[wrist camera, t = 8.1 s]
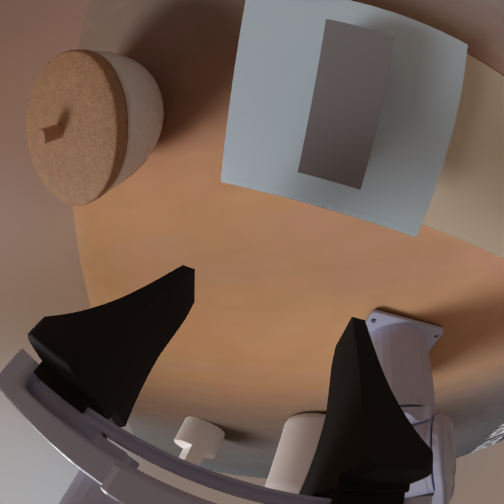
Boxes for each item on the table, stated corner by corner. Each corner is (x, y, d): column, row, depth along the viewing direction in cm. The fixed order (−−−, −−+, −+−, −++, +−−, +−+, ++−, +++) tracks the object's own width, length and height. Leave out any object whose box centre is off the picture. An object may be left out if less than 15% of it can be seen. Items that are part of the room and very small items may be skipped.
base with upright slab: (191, 412, 46) (165, 461, 37) (231, 432, 46) (210, 481, 37) (181, 421, 52) (159, 463, 42) (217, 439, 52) (197, 481, 42)
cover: (413, 232, 13) (430, 274, 10) (224, 178, 15) (189, 205, 12) (463, 46, 7) (500, 34, 4) (251, -8, 9) (219, -37, 6)
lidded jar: (193, 44, 15) (97, 28, 8) (187, 178, 21) (106, 231, 14) (93, 62, 18) (7, 74, 10) (96, 167, 23) (21, 206, 16)
